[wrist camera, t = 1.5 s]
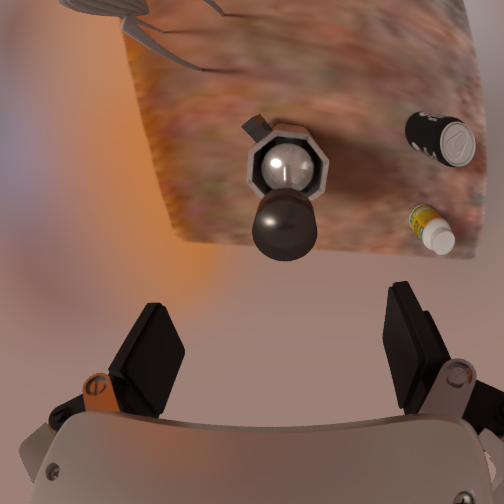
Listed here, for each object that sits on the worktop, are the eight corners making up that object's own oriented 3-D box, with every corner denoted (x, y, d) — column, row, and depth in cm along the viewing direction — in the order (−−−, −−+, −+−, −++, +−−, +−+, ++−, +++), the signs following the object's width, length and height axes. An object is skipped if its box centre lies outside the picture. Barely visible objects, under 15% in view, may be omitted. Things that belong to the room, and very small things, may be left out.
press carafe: (330, 159, 41) (343, 179, 31) (283, 192, 45) (281, 223, 35) (281, 98, 38) (277, 96, 27) (234, 136, 41) (214, 148, 31)
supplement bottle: (437, 224, 43) (461, 250, 35) (412, 236, 45) (433, 265, 37) (429, 198, 42) (455, 221, 33) (404, 210, 43) (426, 236, 35)
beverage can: (395, 131, 37) (428, 144, 27) (418, 103, 34) (457, 107, 24) (422, 159, 39) (459, 180, 28) (444, 131, 35) (485, 145, 25)
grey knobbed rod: (309, 140, 31) (329, 180, 16) (315, 188, 34) (335, 269, 18) (258, 146, 32) (226, 193, 17) (266, 194, 35) (246, 277, 20)
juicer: (247, 34, 33) (170, -63, 7) (201, 71, 37) (63, 47, 11) (204, -5, 30) (94, -95, 4) (161, 32, 33) (14, -8, 8)
